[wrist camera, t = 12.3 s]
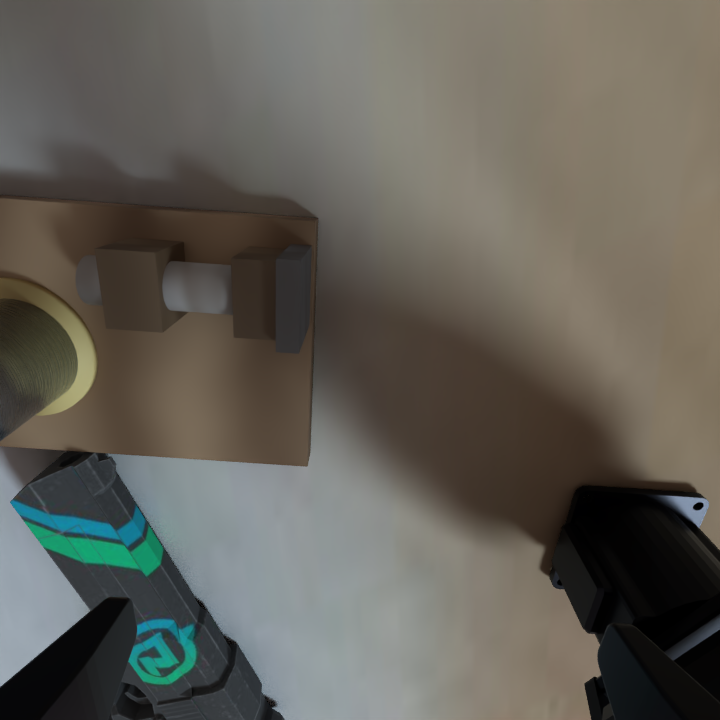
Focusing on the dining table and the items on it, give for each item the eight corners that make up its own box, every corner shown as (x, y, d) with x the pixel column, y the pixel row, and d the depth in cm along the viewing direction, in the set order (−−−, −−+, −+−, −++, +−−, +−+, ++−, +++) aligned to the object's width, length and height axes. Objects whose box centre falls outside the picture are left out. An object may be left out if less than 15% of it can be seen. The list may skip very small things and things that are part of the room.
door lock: (318, 218, 19) (304, 231, 14) (310, 451, 23) (297, 513, 19) (-62, 190, 18) (-184, 196, 14) (0, 431, 22) (-80, 489, 18)
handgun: (93, 834, 31) (301, 807, 29) (-183, 548, 22) (81, 473, 20) (122, 769, 34) (310, 740, 32) (-108, 498, 26) (125, 429, 23)
